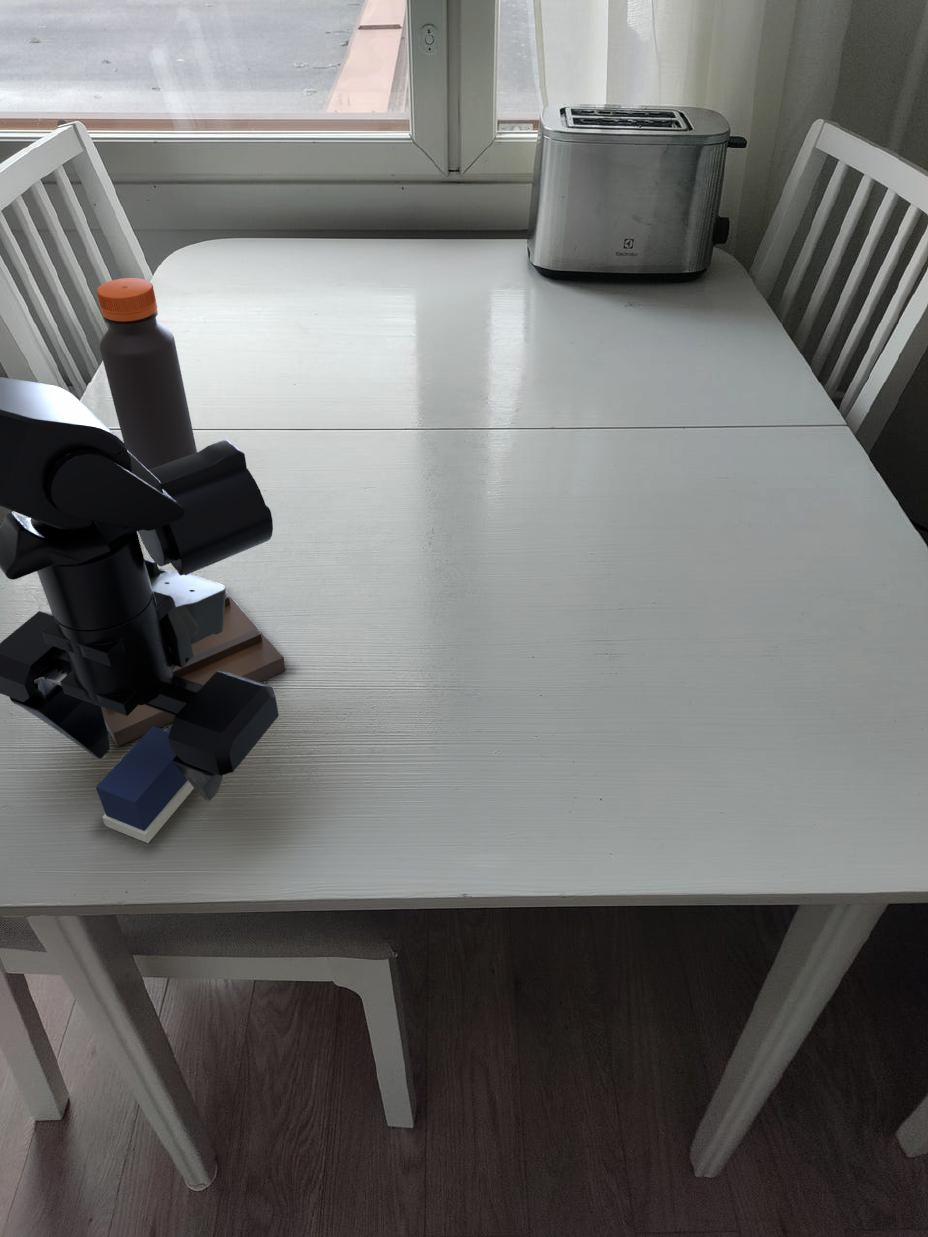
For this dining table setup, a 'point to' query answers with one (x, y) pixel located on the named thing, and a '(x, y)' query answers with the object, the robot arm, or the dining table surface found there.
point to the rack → (208, 669)
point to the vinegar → (144, 374)
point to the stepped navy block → (143, 788)
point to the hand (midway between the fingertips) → (156, 774)
